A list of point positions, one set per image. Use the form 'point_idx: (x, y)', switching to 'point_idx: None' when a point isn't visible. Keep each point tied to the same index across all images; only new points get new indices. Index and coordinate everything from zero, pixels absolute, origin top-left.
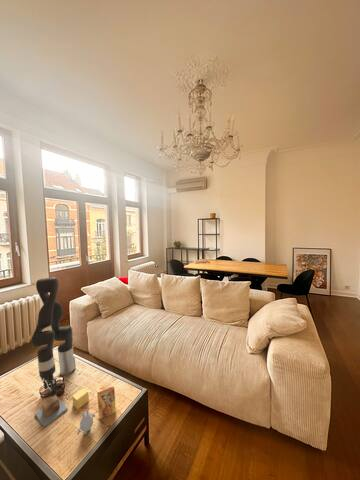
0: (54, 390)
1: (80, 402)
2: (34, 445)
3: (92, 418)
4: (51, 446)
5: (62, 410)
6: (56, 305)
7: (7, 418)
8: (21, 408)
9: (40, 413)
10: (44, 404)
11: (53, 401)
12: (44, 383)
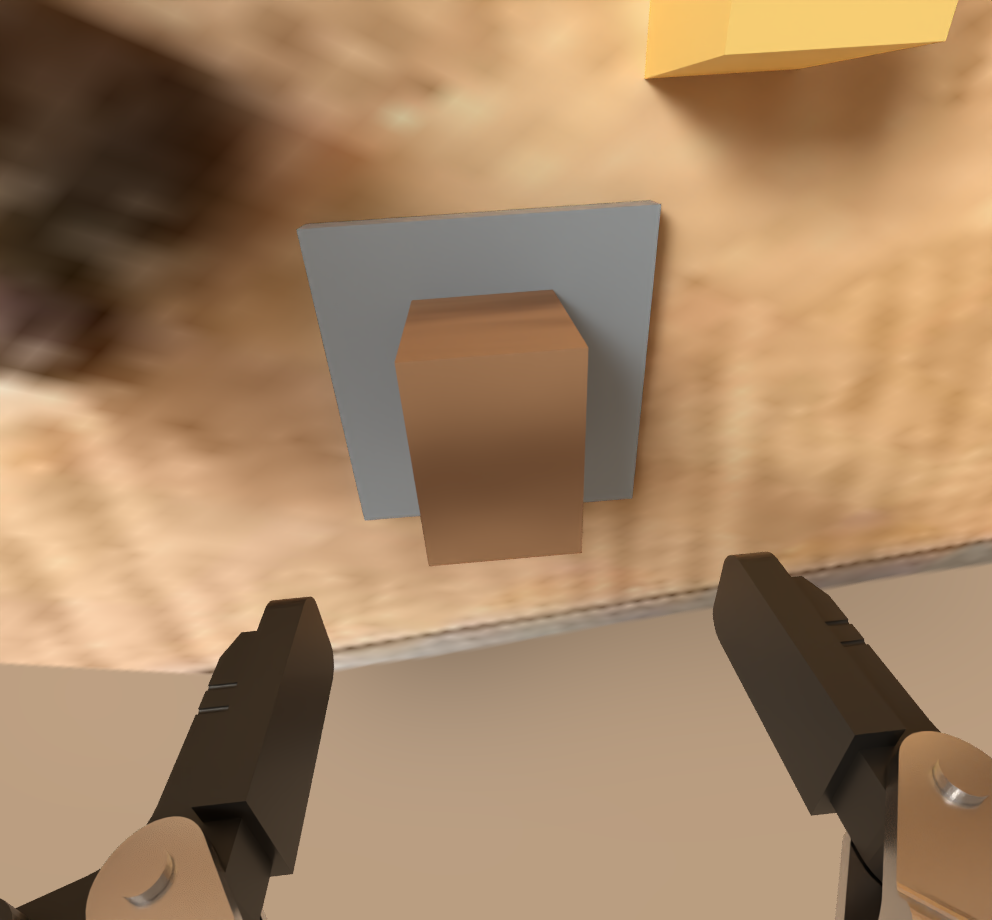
0: (909, 718)
1: None
2: None
3: None
4: (887, 489)
5: (632, 277)
6: None
7: (203, 659)
8: (139, 572)
9: None
10: (495, 543)
11: (565, 436)
12: (275, 869)
